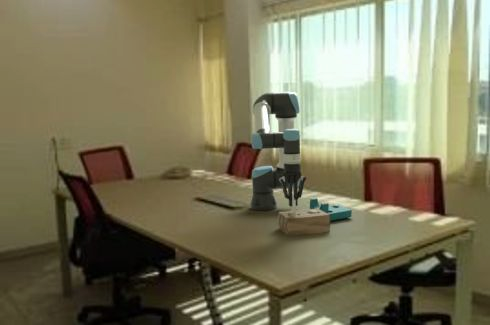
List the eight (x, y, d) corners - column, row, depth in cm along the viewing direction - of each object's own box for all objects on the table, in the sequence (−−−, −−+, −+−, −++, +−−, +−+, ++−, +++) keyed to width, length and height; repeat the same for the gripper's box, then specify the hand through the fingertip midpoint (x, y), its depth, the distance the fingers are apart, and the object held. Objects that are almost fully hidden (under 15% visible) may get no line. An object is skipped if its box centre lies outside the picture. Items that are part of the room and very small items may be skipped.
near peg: (288, 229, 249) (287, 212, 248) (296, 228, 250) (296, 212, 249) (291, 231, 245) (290, 214, 244) (299, 230, 246) (299, 213, 245)
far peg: (308, 227, 251) (307, 210, 250) (316, 226, 252) (315, 210, 251) (311, 229, 248) (311, 212, 246) (319, 228, 249) (319, 211, 247)
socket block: (279, 228, 253) (278, 212, 252) (318, 224, 258) (317, 208, 257) (288, 236, 240) (288, 218, 238) (329, 231, 245) (329, 214, 243)
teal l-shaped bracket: (321, 224, 259) (322, 204, 257) (309, 218, 269) (310, 198, 267) (351, 219, 267) (352, 199, 265) (338, 213, 277) (338, 194, 275)
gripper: (281, 164, 238) (282, 216, 241) (308, 162, 241) (309, 213, 244) (276, 162, 245) (277, 212, 248) (302, 160, 248) (303, 210, 251)
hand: (293, 212), depth 246 cm, fingers closed
